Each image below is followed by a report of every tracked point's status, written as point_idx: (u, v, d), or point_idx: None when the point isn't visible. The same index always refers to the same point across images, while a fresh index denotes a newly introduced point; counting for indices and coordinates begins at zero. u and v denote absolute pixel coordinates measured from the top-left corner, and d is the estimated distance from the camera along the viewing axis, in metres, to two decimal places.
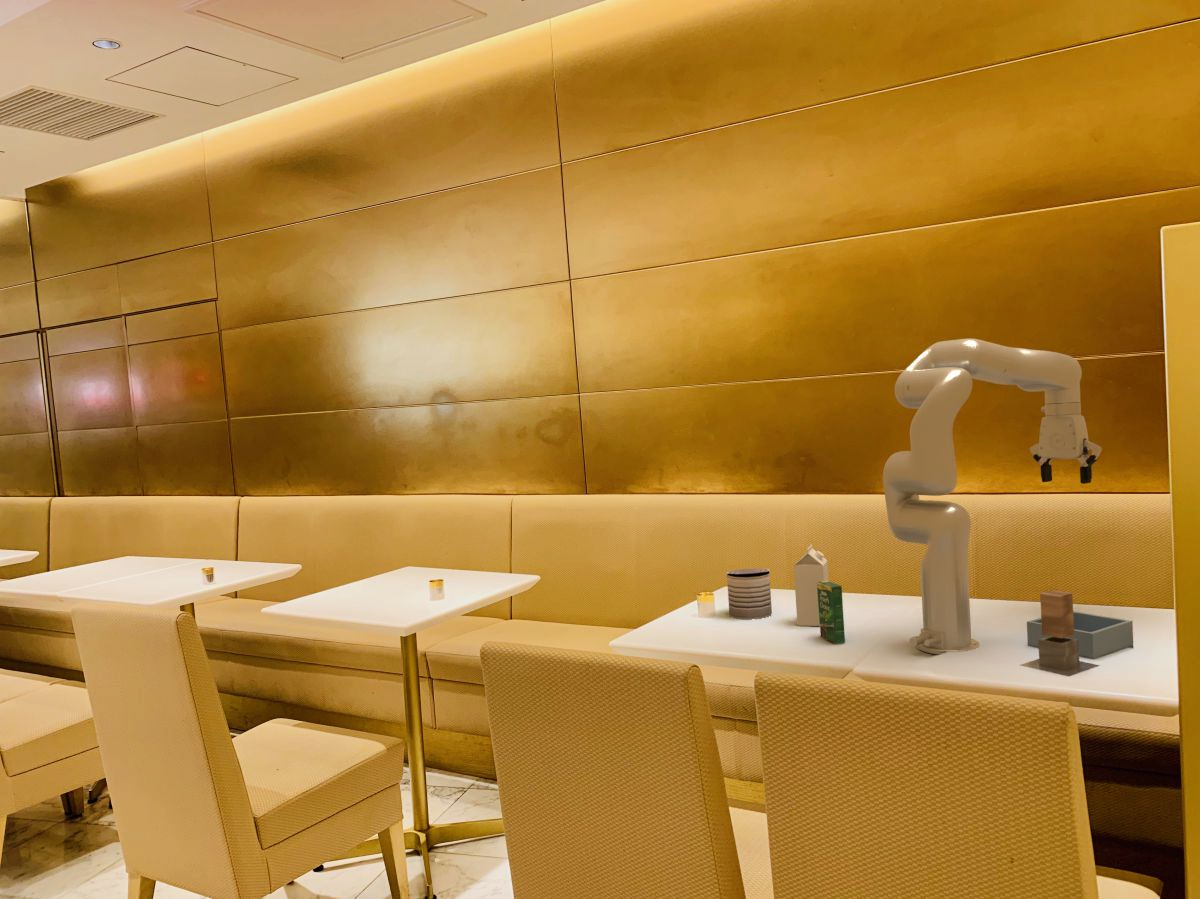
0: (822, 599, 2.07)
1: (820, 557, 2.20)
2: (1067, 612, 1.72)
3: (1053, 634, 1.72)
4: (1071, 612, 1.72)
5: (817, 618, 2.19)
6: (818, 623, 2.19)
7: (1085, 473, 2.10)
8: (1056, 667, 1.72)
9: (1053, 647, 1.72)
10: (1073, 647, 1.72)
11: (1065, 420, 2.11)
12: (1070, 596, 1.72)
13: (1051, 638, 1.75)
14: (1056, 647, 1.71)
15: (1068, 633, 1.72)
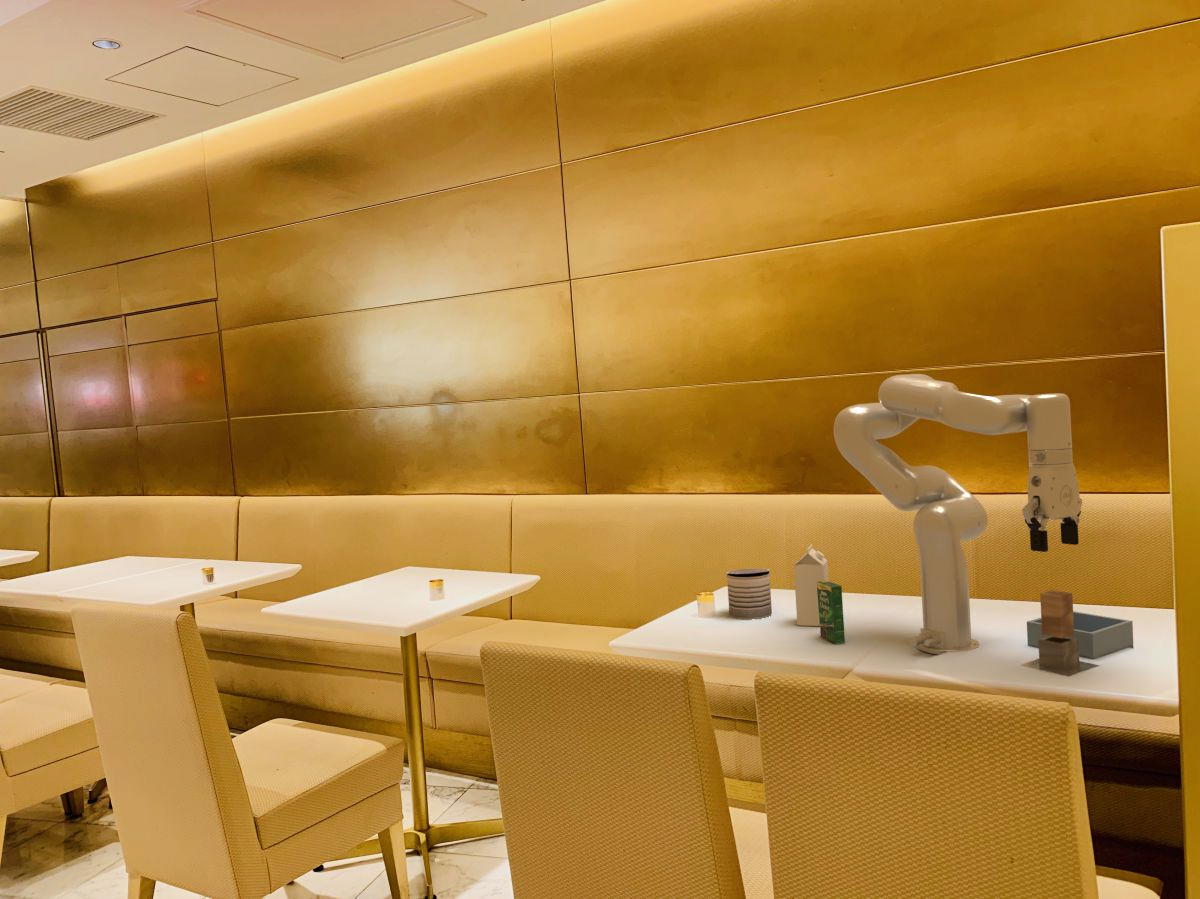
0: (822, 599, 2.07)
1: (820, 557, 2.20)
2: (1067, 612, 1.72)
3: (1053, 634, 1.72)
4: (1071, 612, 1.72)
5: (817, 618, 2.19)
6: (818, 623, 2.19)
7: None
8: (1056, 667, 1.72)
9: (1053, 647, 1.72)
10: (1073, 647, 1.72)
11: (1070, 468, 1.71)
12: (1070, 596, 1.72)
13: (1051, 638, 1.75)
14: (1056, 647, 1.71)
15: (1068, 633, 1.72)
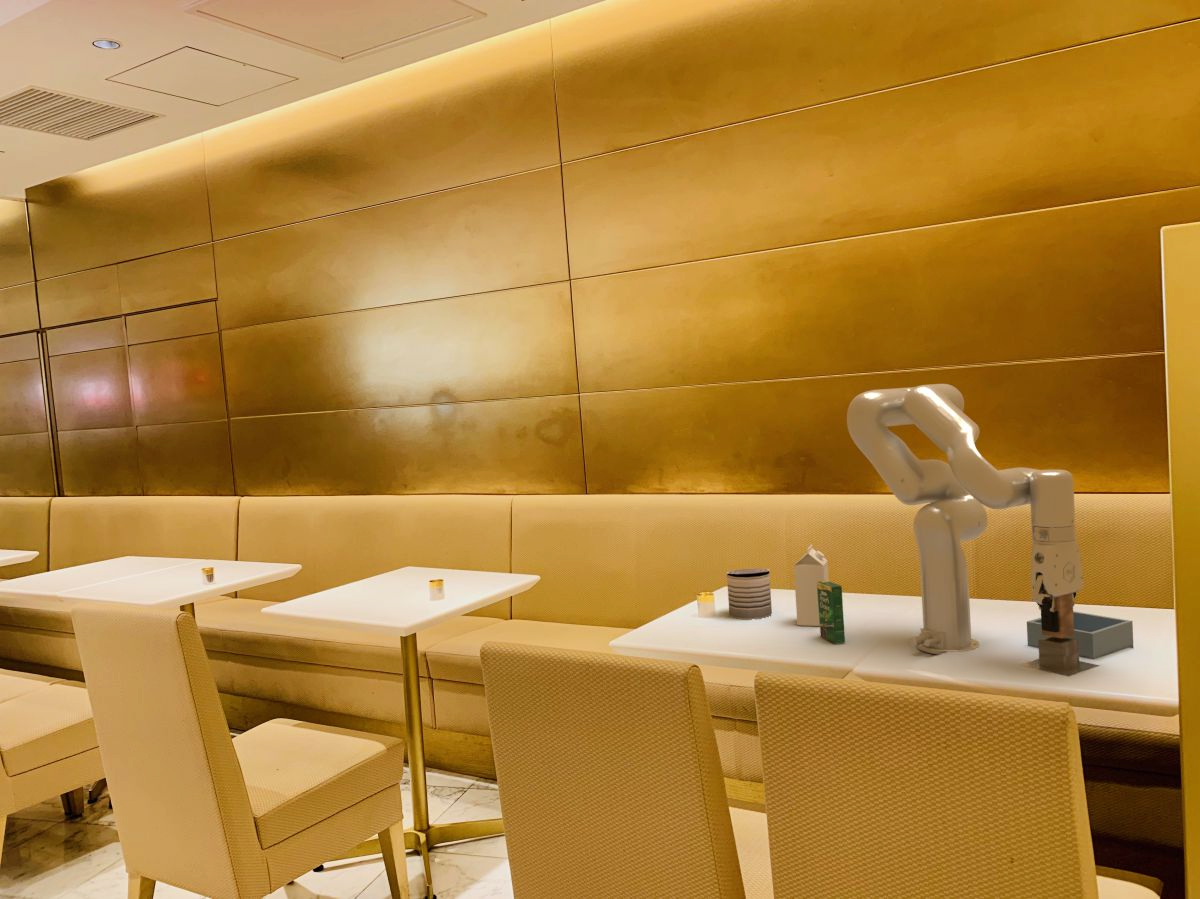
0: (822, 599, 2.07)
1: (820, 557, 2.20)
2: (1067, 612, 1.72)
3: (1053, 634, 1.72)
4: (1071, 612, 1.72)
5: (817, 618, 2.19)
6: (818, 623, 2.19)
7: None
8: (1056, 667, 1.72)
9: (1053, 647, 1.72)
10: (1073, 647, 1.72)
11: (1073, 545, 1.72)
12: (1070, 596, 1.72)
13: (1051, 638, 1.75)
14: (1056, 647, 1.71)
15: (1068, 633, 1.72)
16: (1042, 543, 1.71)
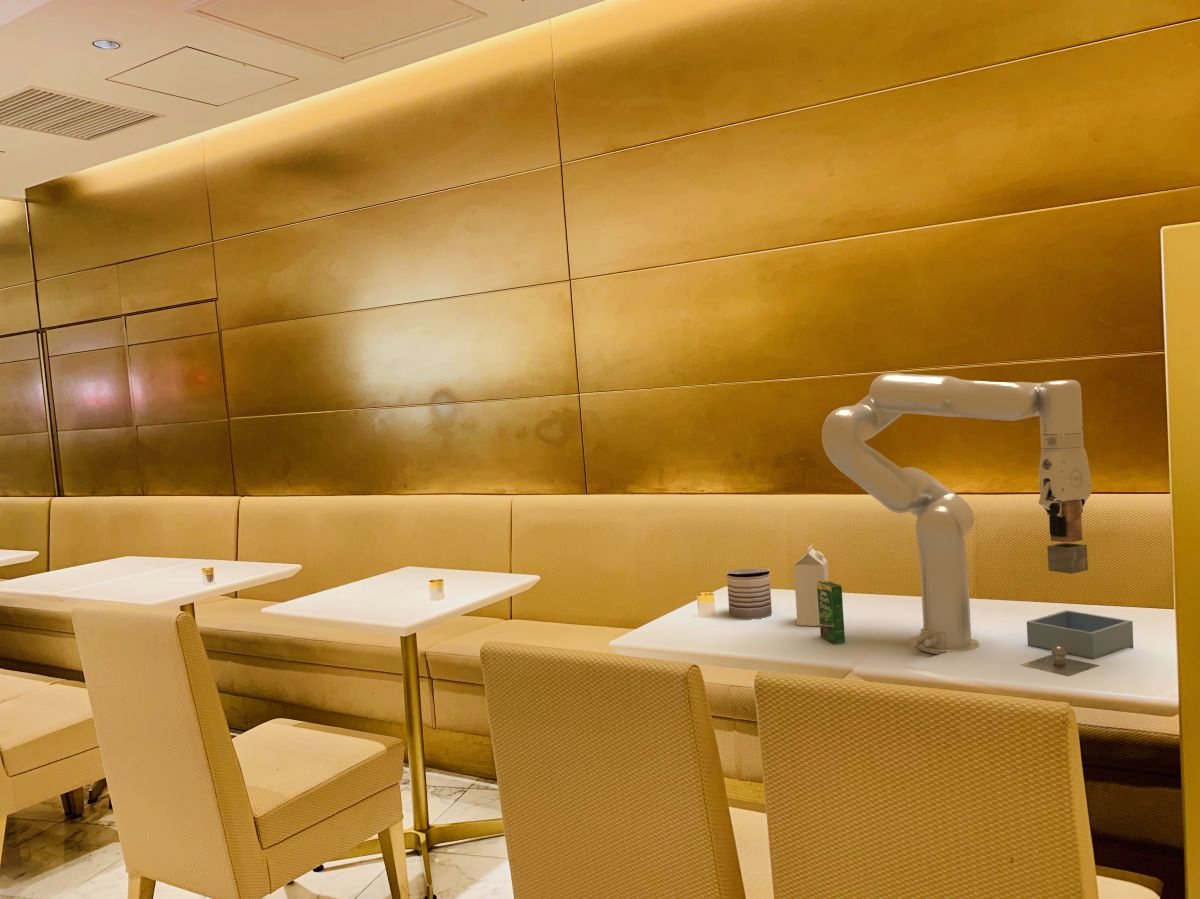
0: (822, 599, 2.07)
1: (820, 557, 2.20)
2: (1075, 517, 1.77)
3: (1061, 539, 1.78)
4: (1079, 518, 1.78)
5: (817, 618, 2.19)
6: (818, 623, 2.19)
7: None
8: (1064, 571, 1.77)
9: (1061, 552, 1.77)
10: (1081, 552, 1.77)
11: (1081, 452, 1.77)
12: (1078, 503, 1.78)
13: (1060, 545, 1.81)
14: (1064, 551, 1.77)
15: (1076, 538, 1.77)
16: (1050, 450, 1.76)
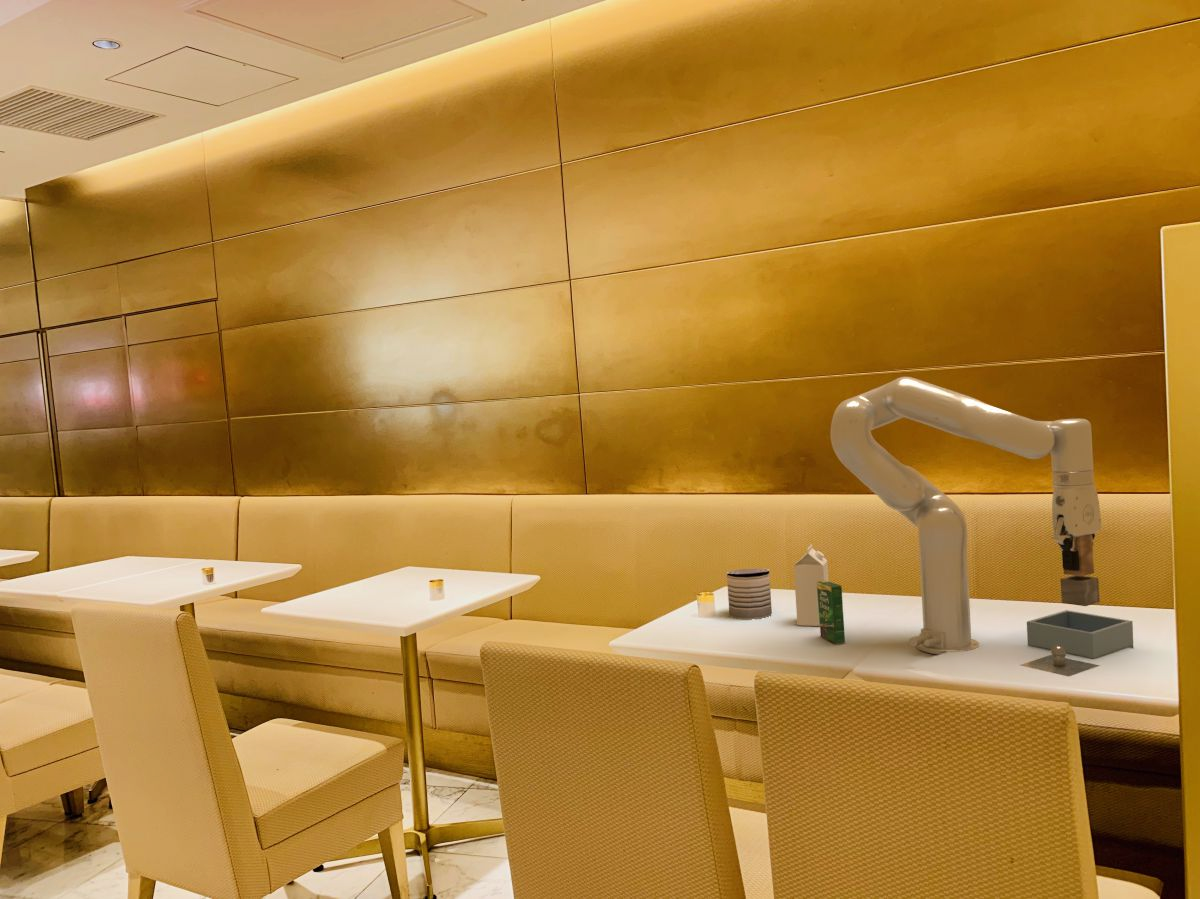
0: (822, 599, 2.07)
1: (820, 557, 2.20)
2: (1087, 551, 1.83)
3: (1074, 573, 1.84)
4: (1091, 552, 1.84)
5: (817, 618, 2.19)
6: (818, 623, 2.19)
7: None
8: (1077, 603, 1.83)
9: (1074, 585, 1.83)
10: (1093, 585, 1.83)
11: (1092, 488, 1.83)
12: (1090, 537, 1.84)
13: (1072, 578, 1.87)
14: (1077, 585, 1.83)
15: (1088, 571, 1.83)
16: (1062, 487, 1.82)
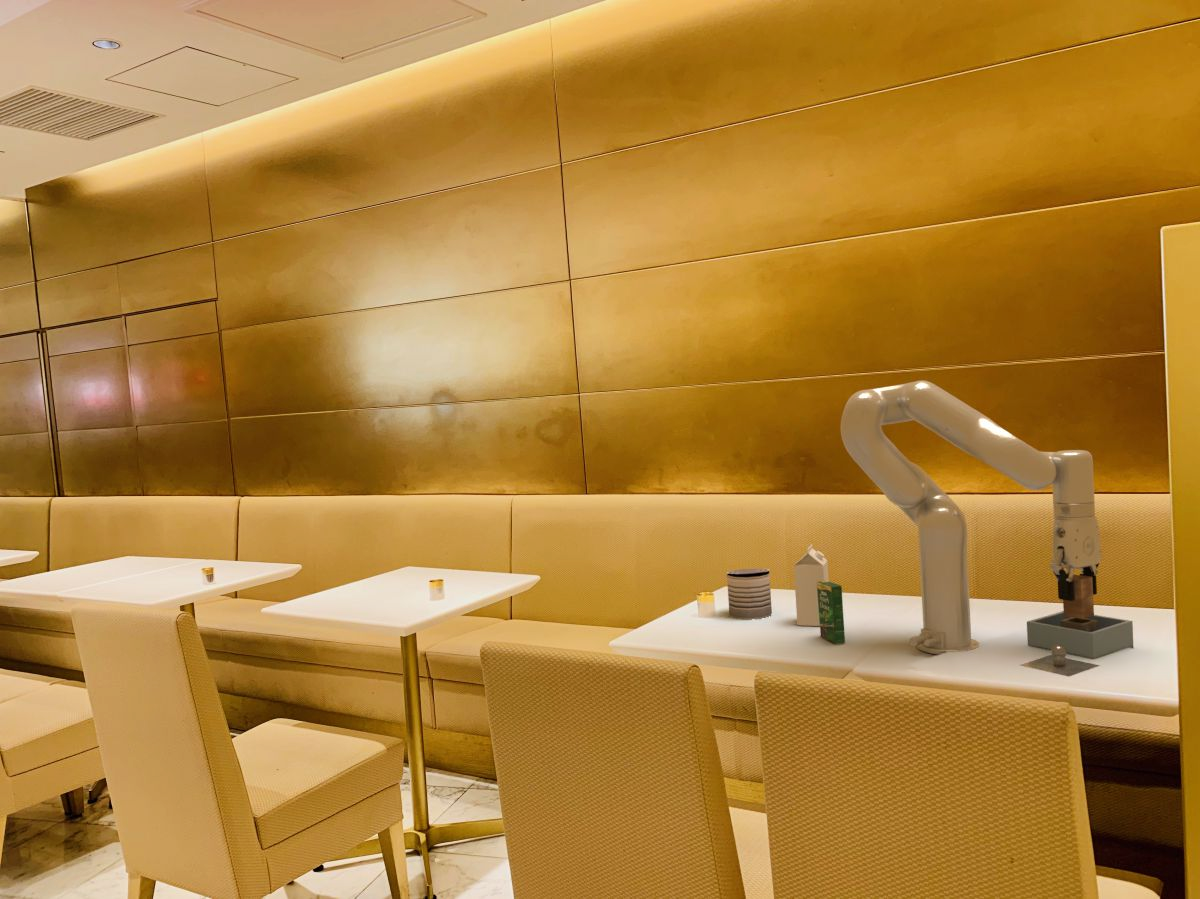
0: (822, 599, 2.07)
1: (820, 557, 2.20)
2: (1087, 594, 1.84)
3: (1074, 615, 1.84)
4: (1091, 595, 1.84)
5: (817, 618, 2.19)
6: (818, 623, 2.19)
7: None
8: None
9: (1074, 627, 1.84)
10: (1093, 627, 1.84)
11: (1093, 520, 1.84)
12: (1091, 580, 1.84)
13: (1072, 619, 1.87)
14: (1077, 627, 1.83)
15: (1088, 614, 1.84)
16: (1063, 519, 1.83)
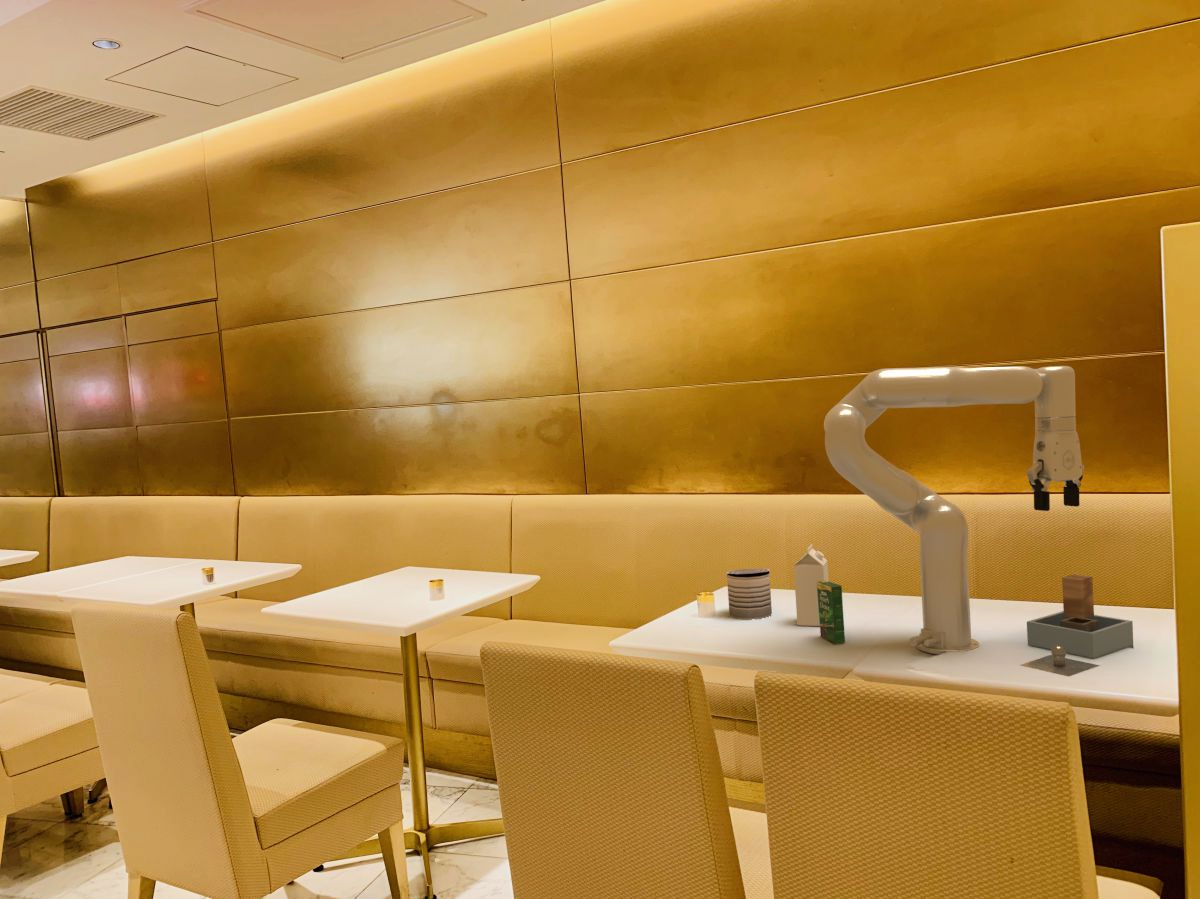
0: (822, 599, 2.07)
1: (820, 557, 2.20)
2: (1087, 594, 1.84)
3: (1074, 615, 1.84)
4: (1091, 595, 1.84)
5: (817, 618, 2.19)
6: (818, 623, 2.19)
7: None
8: None
9: (1074, 627, 1.84)
10: (1093, 627, 1.84)
11: (1073, 435, 1.86)
12: (1091, 580, 1.84)
13: (1072, 619, 1.87)
14: (1077, 627, 1.83)
15: (1088, 614, 1.84)
16: (1044, 432, 1.85)
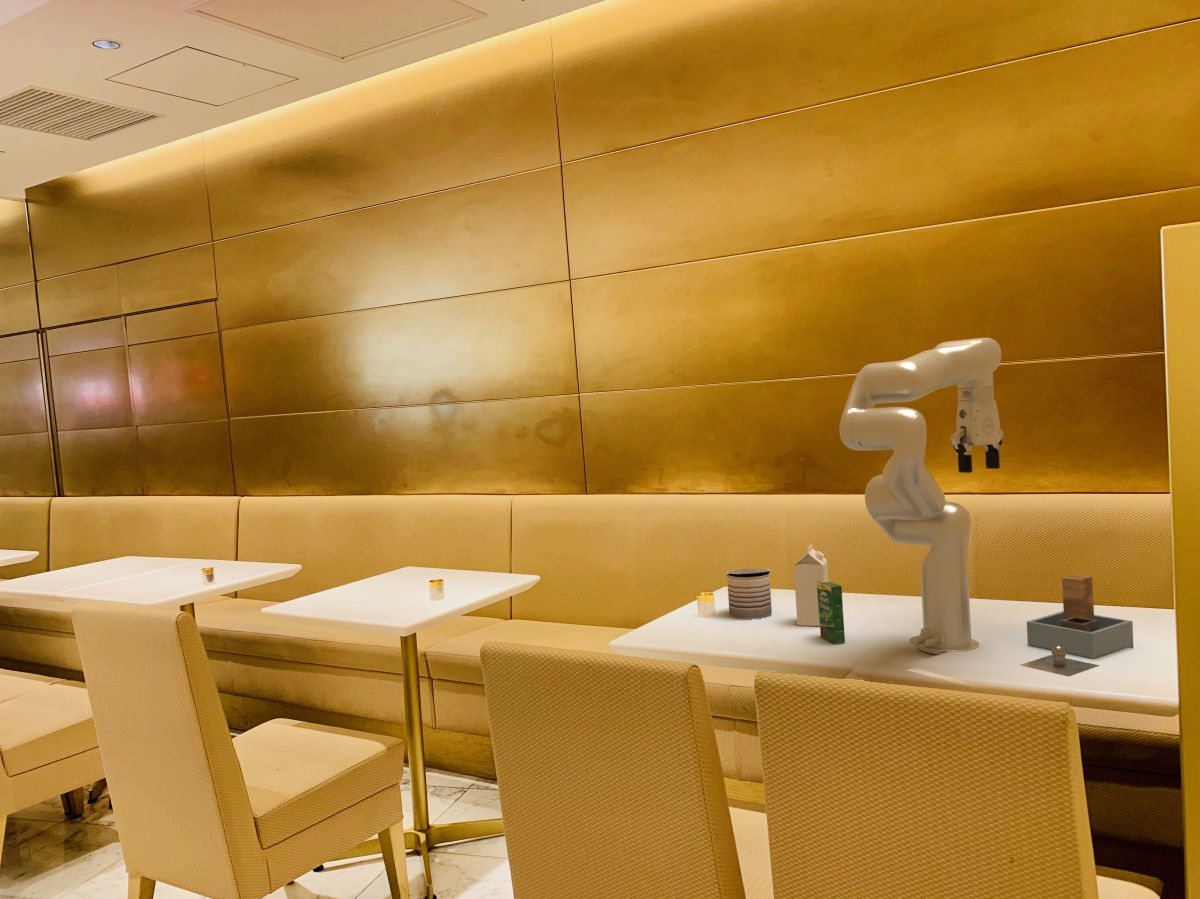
0: (822, 599, 2.07)
1: (820, 557, 2.20)
2: (1087, 594, 1.84)
3: (1074, 615, 1.84)
4: (1091, 595, 1.84)
5: (817, 618, 2.19)
6: (818, 623, 2.19)
7: None
8: None
9: (1074, 627, 1.84)
10: (1093, 627, 1.84)
11: (992, 403, 2.05)
12: (1091, 580, 1.84)
13: (1072, 619, 1.87)
14: (1077, 627, 1.83)
15: (1088, 614, 1.84)
16: (965, 402, 2.04)
